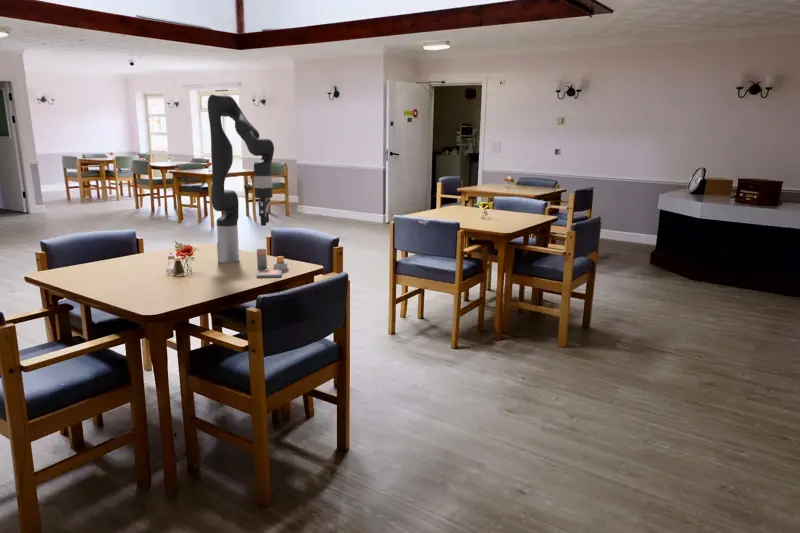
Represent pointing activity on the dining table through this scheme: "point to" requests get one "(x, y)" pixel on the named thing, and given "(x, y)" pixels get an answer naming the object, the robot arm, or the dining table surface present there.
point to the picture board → (269, 273)
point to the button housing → (280, 266)
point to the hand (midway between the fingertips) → (264, 224)
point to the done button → (280, 259)
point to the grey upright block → (261, 259)
